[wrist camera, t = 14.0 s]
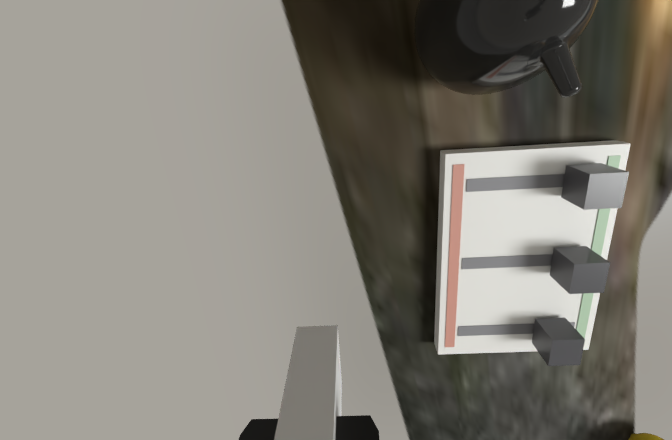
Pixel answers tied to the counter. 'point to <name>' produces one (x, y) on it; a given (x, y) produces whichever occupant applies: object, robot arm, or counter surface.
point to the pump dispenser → (500, 42)
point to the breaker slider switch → (557, 341)
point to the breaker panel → (512, 243)
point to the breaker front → (594, 186)
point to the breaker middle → (579, 269)
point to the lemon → (644, 437)
